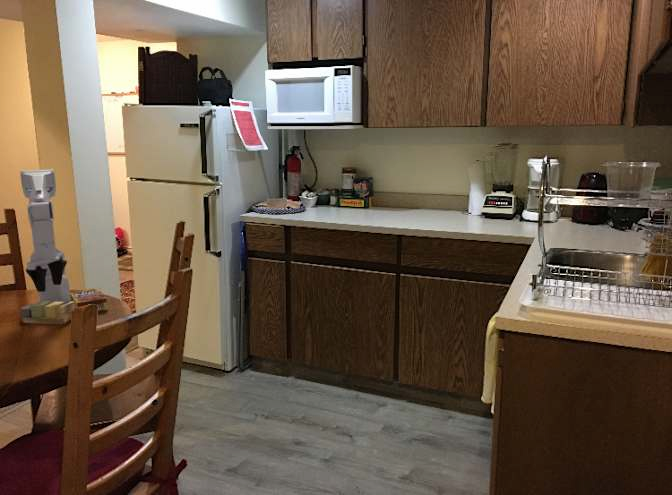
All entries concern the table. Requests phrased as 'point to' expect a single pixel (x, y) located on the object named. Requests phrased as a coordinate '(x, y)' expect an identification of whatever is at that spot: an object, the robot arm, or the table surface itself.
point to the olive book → (39, 309)
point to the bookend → (26, 311)
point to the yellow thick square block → (53, 309)
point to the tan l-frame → (64, 317)
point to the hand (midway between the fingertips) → (49, 287)
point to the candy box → (89, 298)
